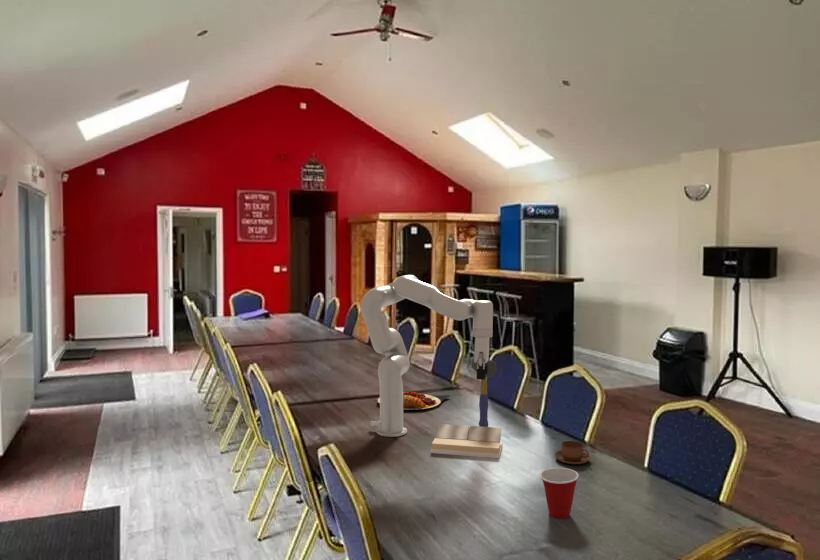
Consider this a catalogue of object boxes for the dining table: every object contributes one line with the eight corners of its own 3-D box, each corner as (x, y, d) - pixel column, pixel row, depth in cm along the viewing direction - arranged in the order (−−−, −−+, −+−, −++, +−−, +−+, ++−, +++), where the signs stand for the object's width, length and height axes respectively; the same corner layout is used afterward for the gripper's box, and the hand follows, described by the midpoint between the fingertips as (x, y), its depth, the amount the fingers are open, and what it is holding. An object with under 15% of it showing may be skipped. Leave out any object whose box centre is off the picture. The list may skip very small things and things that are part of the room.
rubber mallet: (498, 432, 255) (498, 359, 253) (481, 433, 253) (481, 360, 251) (486, 423, 267) (486, 354, 265) (469, 424, 265) (470, 355, 263)
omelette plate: (456, 398, 308) (456, 384, 307) (419, 418, 279) (418, 403, 278) (403, 391, 325) (403, 378, 324) (363, 410, 295) (362, 395, 295)
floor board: (431, 453, 230) (431, 443, 229) (438, 441, 243) (438, 432, 243) (499, 458, 224) (499, 448, 224) (502, 445, 238) (502, 436, 237)
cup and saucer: (590, 457, 225) (590, 440, 225) (588, 469, 214) (588, 451, 214) (556, 453, 229) (556, 437, 229) (553, 464, 218) (553, 447, 218)
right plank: (468, 443, 234) (468, 439, 233) (470, 429, 240) (470, 425, 239) (499, 445, 232) (499, 442, 231) (501, 431, 237) (501, 427, 236)
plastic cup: (534, 507, 183) (535, 467, 182) (570, 505, 184) (571, 465, 183) (545, 523, 172) (546, 481, 171) (583, 522, 173) (584, 480, 172)
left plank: (436, 441, 237) (436, 437, 236) (439, 427, 243) (438, 423, 242) (467, 443, 235) (466, 439, 233) (469, 429, 240) (469, 425, 239)
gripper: (475, 329, 249) (474, 371, 250) (470, 335, 232) (469, 380, 233) (494, 329, 247) (493, 372, 248) (490, 336, 230) (490, 381, 231)
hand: (482, 376), depth 241 cm, fingers open, 9 cm apart
